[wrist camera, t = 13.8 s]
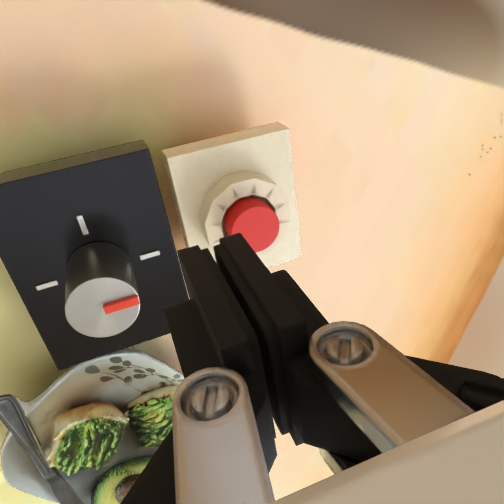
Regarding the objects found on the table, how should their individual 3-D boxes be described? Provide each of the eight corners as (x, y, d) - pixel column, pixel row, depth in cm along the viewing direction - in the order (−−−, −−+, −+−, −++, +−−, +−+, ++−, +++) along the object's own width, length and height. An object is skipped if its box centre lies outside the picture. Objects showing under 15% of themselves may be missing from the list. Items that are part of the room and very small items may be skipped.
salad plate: (-77, 456, 35) (-92, 507, 31) (86, 298, 35) (91, 330, 31) (109, 522, 46) (114, 566, 42) (234, 401, 46) (251, 434, 42)
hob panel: (-26, 178, 28) (-35, 193, 26) (143, 139, 31) (148, 149, 29) (59, 350, 36) (58, 372, 34) (189, 307, 39) (196, 325, 36)
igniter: (161, 149, 32) (171, 165, 28) (277, 121, 34) (300, 133, 30) (193, 276, 37) (205, 302, 34) (291, 245, 39) (311, 267, 36)
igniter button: (220, 204, 31) (227, 214, 30) (267, 191, 32) (276, 200, 30) (228, 248, 33) (235, 259, 31) (273, 235, 34) (282, 245, 32)
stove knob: (78, 303, 32) (79, 349, 28) (56, 251, 30) (53, 293, 25) (138, 285, 33) (148, 327, 29) (122, 233, 31) (129, 271, 26)
